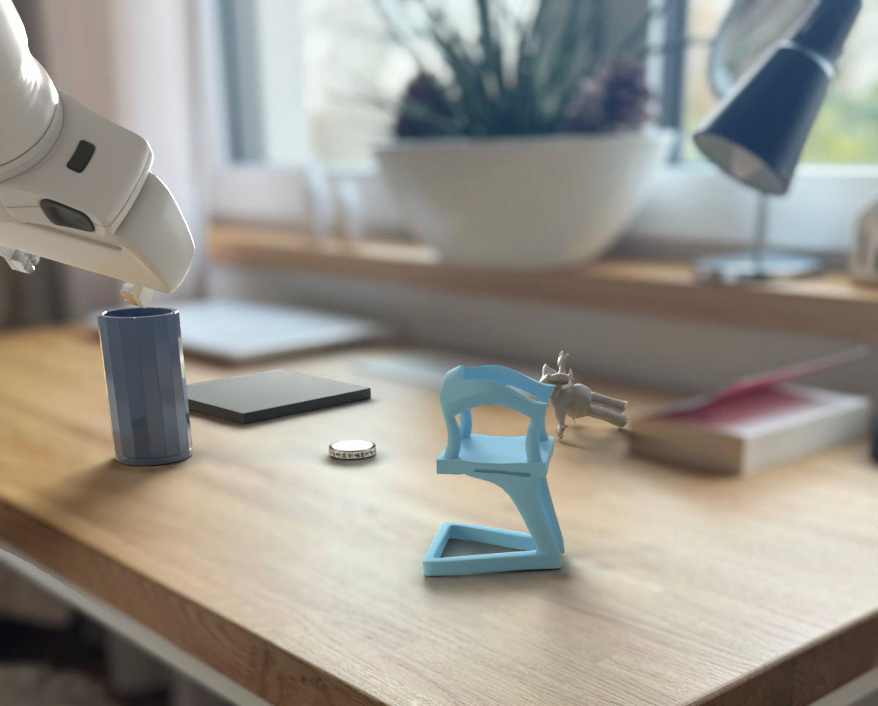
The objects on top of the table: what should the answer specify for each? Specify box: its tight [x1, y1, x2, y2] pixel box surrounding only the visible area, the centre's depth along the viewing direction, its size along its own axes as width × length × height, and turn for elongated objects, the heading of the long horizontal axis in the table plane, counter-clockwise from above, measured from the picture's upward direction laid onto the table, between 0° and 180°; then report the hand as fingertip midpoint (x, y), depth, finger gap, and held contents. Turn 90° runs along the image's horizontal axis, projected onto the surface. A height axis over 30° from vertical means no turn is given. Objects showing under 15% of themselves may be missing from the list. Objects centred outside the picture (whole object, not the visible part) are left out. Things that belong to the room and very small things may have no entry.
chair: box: [422, 364, 566, 577], centre depth 66 cm, size 8×8×12 cm
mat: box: [186, 368, 372, 424], centre depth 113 cm, size 16×16×1 cm
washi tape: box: [328, 439, 377, 460], centre depth 92 cm, size 4×4×1 cm
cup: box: [96, 306, 193, 467], centre depth 90 cm, size 6×6×12 cm
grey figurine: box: [538, 350, 630, 441], centre depth 98 cm, size 10×6×9 cm
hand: (84, 281), depth 79 cm, fingers open, 8 cm apart
